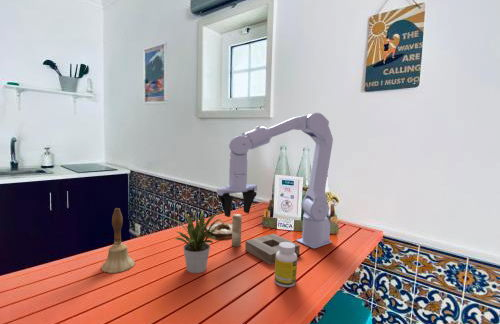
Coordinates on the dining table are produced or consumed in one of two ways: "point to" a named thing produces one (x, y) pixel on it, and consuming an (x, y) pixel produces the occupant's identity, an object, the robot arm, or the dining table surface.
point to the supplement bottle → (286, 265)
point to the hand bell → (117, 249)
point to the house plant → (197, 243)
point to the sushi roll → (221, 230)
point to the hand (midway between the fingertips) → (237, 214)
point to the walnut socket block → (267, 247)
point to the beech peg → (236, 230)
